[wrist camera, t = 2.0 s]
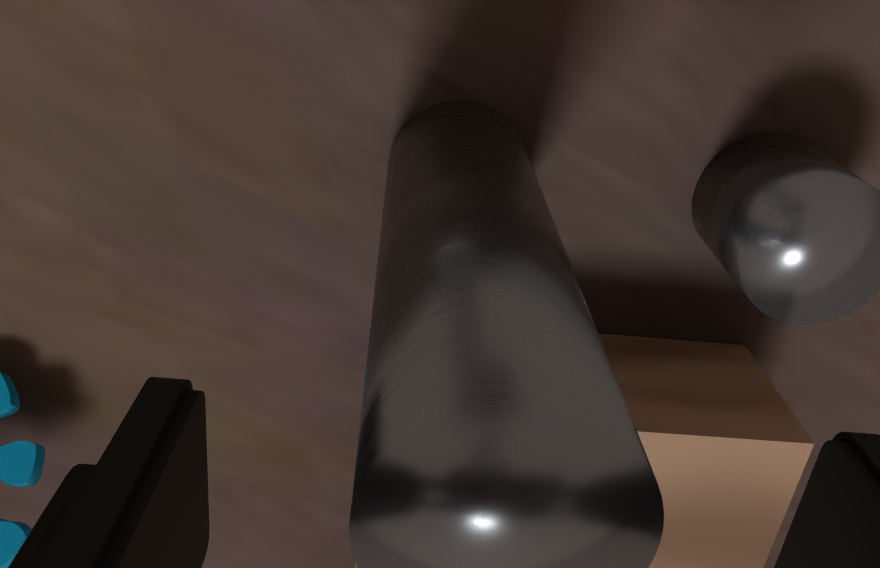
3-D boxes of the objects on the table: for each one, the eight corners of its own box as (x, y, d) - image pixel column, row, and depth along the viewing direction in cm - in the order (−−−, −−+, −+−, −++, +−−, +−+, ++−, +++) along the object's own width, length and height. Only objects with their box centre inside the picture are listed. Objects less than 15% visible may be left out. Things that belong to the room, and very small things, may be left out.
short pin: (711, 125, 22) (768, 172, 18) (847, 138, 22) (928, 187, 19) (677, 252, 24) (722, 318, 20) (802, 263, 24) (869, 330, 20)
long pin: (393, 94, 21) (359, 394, 9) (537, 108, 22) (699, 418, 9) (383, 228, 23) (342, 633, 11) (516, 239, 23) (626, 647, 11)
